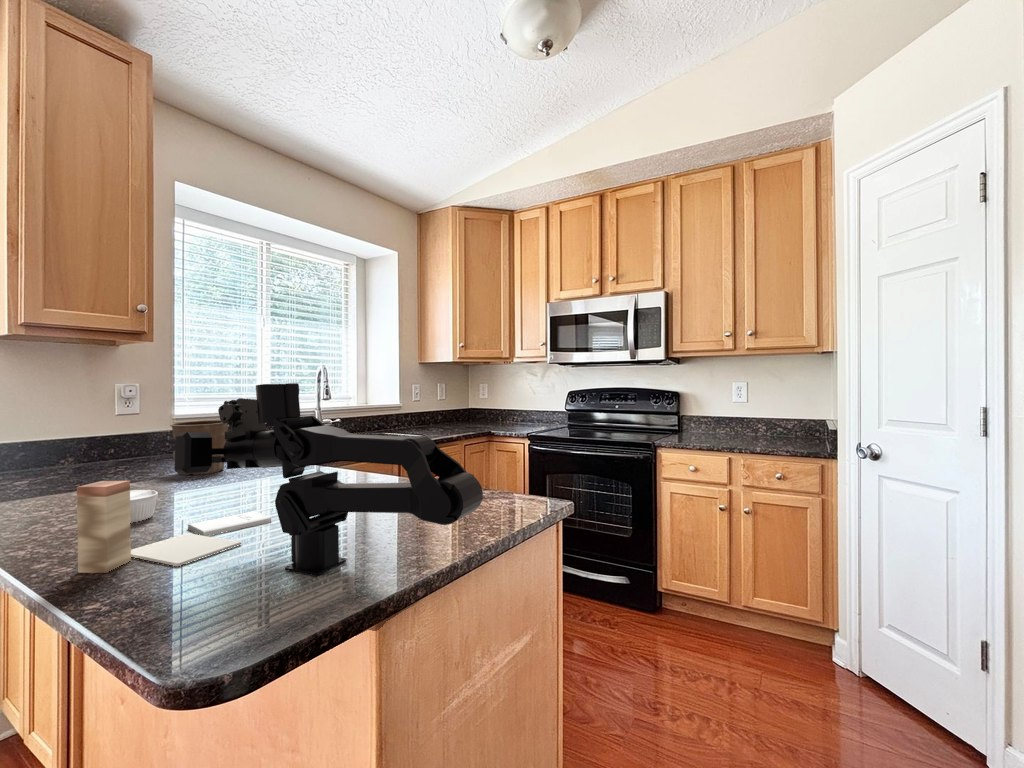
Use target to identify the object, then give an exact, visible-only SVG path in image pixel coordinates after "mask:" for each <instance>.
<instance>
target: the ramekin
mask: <svg viewBox="0 0 1024 768" xmlns="http://www.w3.org/2000/svg"><path fill="white" fill-rule="evenodd" d="M158 497H159V493H158V491H156V490H154V489H153V490H152V489H135V490H134V489H133V490H132V489H130V523H131V524H134V523H133V522H136V523H139V522H138V521H140V522H143V521H142V520H144V521H146V519H147V520H149V519H150V518H152V516H153V515H154V514H155V513H154V512H155V510H156V509H155V508H156V505H157V503H156V502H157V498H158ZM148 518H149V519H148Z"/></svg>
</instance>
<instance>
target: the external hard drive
mask: <svg viewBox="0 0 1024 768" xmlns="http://www.w3.org/2000/svg"><path fill="white" fill-rule="evenodd" d="M268 523H272V518H271V516H269V515H266V514H264V513H260V512H257V511H249V512H244V513H240V514H239V513H238V514H234V515H230V516H225V517H224V516H223V517H218V518H215V519H209V520H204V521H200V522H199V521H198V522H192V523H188V525H187V530H188V529H189V531H190V530H191V531H190V532H192V531H193V532H192V533H194V532H195V533H194V534H196V533H197V534H196V535H198V534H200V535H202V536H208V537H210V536H209V535H212V536H214V535H213V534H216V535H218V534H217V533H220V534H222V533H221V532H225V533H227V532H226V531H229V532H232V531H231V530H234V531H237V530H236V529H238V530H241V529H240V528H243V529H246V527H247V528H250V527H255V526H258V525H259V526H260V525H264V524H268Z"/></svg>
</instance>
